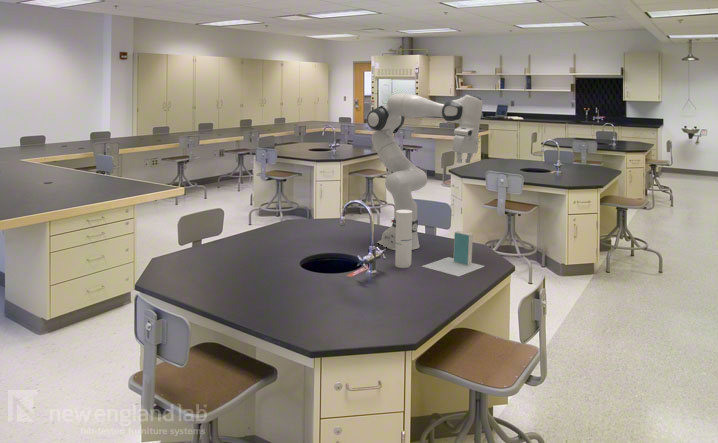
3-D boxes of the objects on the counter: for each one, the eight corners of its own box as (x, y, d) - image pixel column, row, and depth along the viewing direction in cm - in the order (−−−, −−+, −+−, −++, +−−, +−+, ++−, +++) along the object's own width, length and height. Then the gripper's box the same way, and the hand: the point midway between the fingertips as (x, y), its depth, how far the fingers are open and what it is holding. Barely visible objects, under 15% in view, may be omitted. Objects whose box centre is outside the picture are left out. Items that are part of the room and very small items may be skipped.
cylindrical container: (410, 268, 249) (411, 213, 244) (394, 267, 251) (395, 212, 245) (412, 263, 256) (413, 210, 251) (396, 262, 258) (397, 209, 252)
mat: (421, 267, 250) (421, 266, 250) (448, 258, 264) (448, 257, 264) (458, 278, 236) (458, 276, 236) (485, 267, 250) (485, 266, 250)
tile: (453, 261, 256) (454, 232, 253) (456, 260, 258) (457, 230, 255) (467, 265, 251) (469, 235, 248) (471, 264, 253) (472, 233, 250)
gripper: (470, 132, 260) (466, 162, 263) (452, 129, 243) (447, 161, 246) (483, 134, 257) (478, 164, 259) (466, 131, 240) (460, 163, 242)
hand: (463, 163), depth 252 cm, fingers open, 8 cm apart
